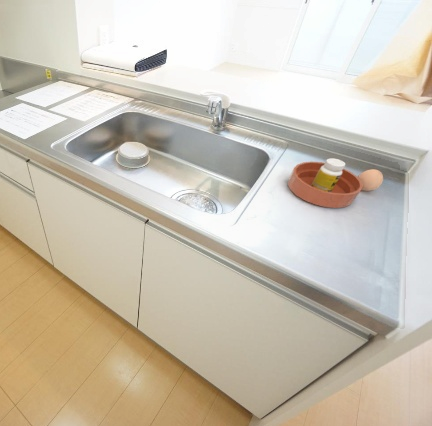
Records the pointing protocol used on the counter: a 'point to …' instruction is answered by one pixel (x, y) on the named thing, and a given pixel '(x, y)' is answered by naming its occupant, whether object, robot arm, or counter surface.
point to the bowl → (336, 198)
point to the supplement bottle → (328, 175)
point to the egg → (371, 179)
